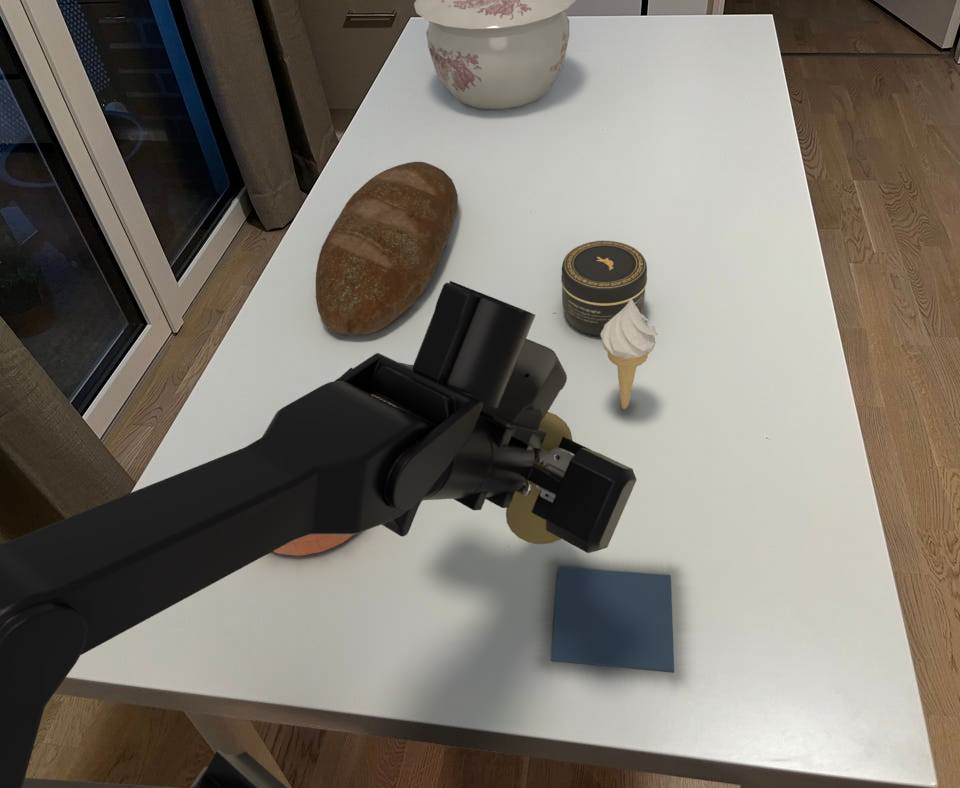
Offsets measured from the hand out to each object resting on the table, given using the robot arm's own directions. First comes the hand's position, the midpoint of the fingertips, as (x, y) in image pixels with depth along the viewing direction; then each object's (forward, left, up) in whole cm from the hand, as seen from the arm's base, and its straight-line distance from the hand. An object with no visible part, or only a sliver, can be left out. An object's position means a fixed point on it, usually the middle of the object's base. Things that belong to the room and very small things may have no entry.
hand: (549, 458), depth 65 cm
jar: (+34, +8, -13) cm, 38 cm away
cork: (-1, 0, -6) cm, 6 cm away
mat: (-4, -8, -13) cm, 16 cm away
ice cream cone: (+20, 0, -13) cm, 24 cm away
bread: (+35, +40, -13) cm, 54 cm away
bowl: (-5, +24, -13) cm, 28 cm away
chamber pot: (+86, +48, -13) cm, 100 cm away
